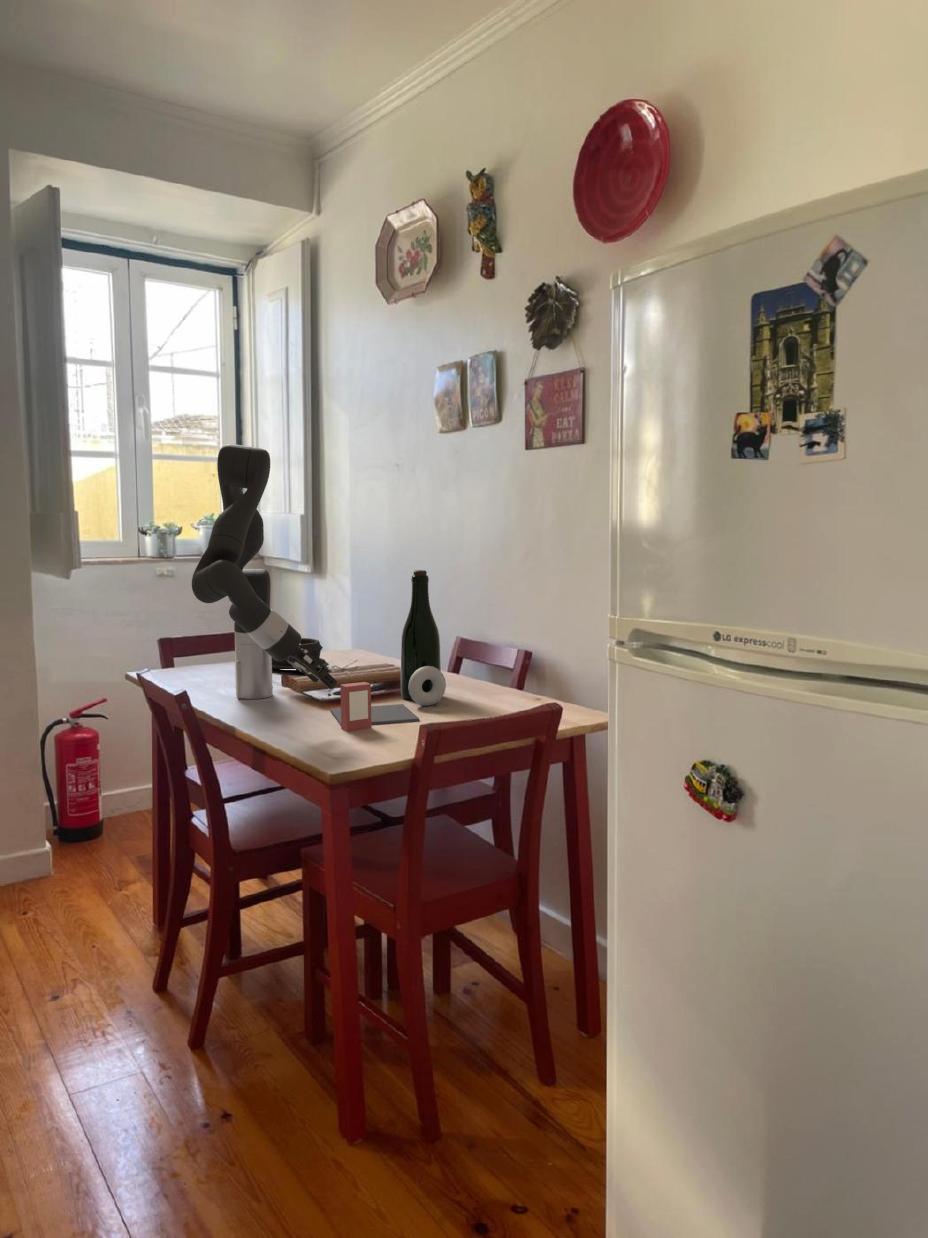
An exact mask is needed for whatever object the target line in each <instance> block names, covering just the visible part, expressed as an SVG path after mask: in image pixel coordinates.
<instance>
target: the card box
mask: <svg viewBox="0 0 928 1238" xmlns="http://www.w3.org/2000/svg"><path fill="white" fill-rule="evenodd" d="M339 686H340V708H341V725H340V728H341V730H343V731H345V732H351V731H359V730H366V729H368V730H369V729H372V725H371V706H372V689H371V688H372V683H369V682H366V681H361V682H352V683H351V682H350V683H342V684H340V685H339Z"/></svg>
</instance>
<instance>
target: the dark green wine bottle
mask: <svg viewBox="0 0 928 1238" xmlns="http://www.w3.org/2000/svg"><path fill="white" fill-rule="evenodd" d="M427 573H428V572H427V570H426V569H425V570H423V569H417V570H414V571H413V575H411V579H410V580H411V598H410V599H411V602H410V607H409V611H408V614H407V618H406V620H405V623H404V626H403V629H402V633H401V641H400V643H401V644H400V695H401V697H402V698H403V699H405V700H408V701H414V700H413V699H412V698H411V696H410V694H409V689H408V686H409V680H410V678H411V676H412V674H413V673H414V672H415V671H416V670H418V669H419V668H421V667H424V666H433V667H435V668H437V669H439V670H440V671H441V672H442V665H441V664H442V663H441V662H442V660H441V659H442V658H441V657H442V656H441V638H440V636H441V635H440V633H439V628H438V625H437V623H436V620H435V617H434V614H433V612H432V608H431V604H430V603H431V602H430V594H429V581H430V578H429V575H427ZM432 687H433V683H432V681H431V680H429V679H427V680H425V681H424V682H423V684H422V690H423V691H424V692H426V693H427V692H429V691H431V689H432Z"/></svg>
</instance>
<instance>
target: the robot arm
mask: <svg viewBox="0 0 928 1238" xmlns="http://www.w3.org/2000/svg"><path fill="white" fill-rule="evenodd" d="M216 467H217V468H216V469H217V479H218V485H219V488H220V489H219V490H220V495H221V496H220V497H221V500H222V501H221V502H222V509H223V510H222V512H221V513H220V514H219V515H218V516H217V518H216V520H215V521H214V524H213V526H212V528H211V533H210V536H209V540H208V544H207V547H206V549H205V551H204V552H203V554H202V556H201V557H200V559H199V561H198V564H197V566H196V568H195V569H194V571H193V574H192V579H191V588H192V589H191V590H192V593H193V595H194V596H195V598H196V599H197V600H198V601H200V602H201V603H204V604H214V603H216V602H219V601H221V600H222V599H224V598H226V597H228V600H229V601H230V603H231V605H230V607H229V610H228V614H229V616H230V619H231V620H232V621H233V622H234V623H233V627H234V631H233V632H234V654H235V655H234V656H235V658H234V670H235V671H234V673H235V675H234V676H235V696H236V699H237V698H245V699H244V700H257V699H265V698H269V697H272V696H273V694H274V692H273V691H274V690H273V685H274V684H273V667H272V658H273V659H275V660H276V661H283V660H285V659H286V660H287V661H288V662H289V663H290V664H291V665H292V666H293V667H294V668H295V669H297V670H299V671H298V672H300V673H303V674H304V675H305V676H306V677H307V678H308V679H309V680H311V681H312V682H313V683H316V684H317V683H318V682H319V681H320V682H321V683H322V684H323V685H324V686H326V687H327V688H328V689H329V690H332V689H333V688H334V687H336V685H337V683H338V682H337V680H336V678H335V677H333V676H332V675H331V674H330V673H329V672H328V671H329V669H328V666H326V667H325V666H324V665H323V664H322V663H320V662H319V661H318V660H317V659H316V658H315V657H314V656H313V655H312V654H311V653H310V652H308V651H307V650H306V649H304V648H303V649H302V648H301V647H299V644H300V642H301V638H302V634H300V632H299V631H297V630H296V628H294V627H293V626H292V625H291V624H290V623H289V622H288V621H286V619H285V618H283V616H281V615H280V614H279V613H278V612H277V611H276V610H273V608H271V591H272V590H271V585H272V584H271V576H270V572H269V571H268V570H267V569H265V568H244V567H246V565H247V564H249V562H251V560H252V559H253V558H254V557H255V556H257V554H258V553H259V551H260V550H261V549H262V546H263V545H264V540H265V537H264V536H265V535H264V534H265V533H264V529H265V528H264V520H263V517H262V515H261V513H260V512H259V510H258V507H259V504H260V502H261V500H262V497H263V495H264V492H265V491H266V488H267V485H268V482H269V479H270V472H271V456H270V453H269V452H268V450H266V449H263V448H259V447H254V446H253V447H252V446H250V445H249V446H248V445H242V444H236V443H235V444H234V443H233V444H231V443H230V444H229V443H227V444H224V445H222V446H221V448H220V449H219V451H218V455H217V462H216ZM241 489H245V492H244V493H243V491H242V490H241ZM316 667H319V668H318V669H319V670H317V668H316Z"/></svg>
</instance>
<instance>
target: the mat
mask: <svg viewBox="0 0 928 1238" xmlns="http://www.w3.org/2000/svg"><path fill="white" fill-rule="evenodd" d="M330 713H331V715H332V716H333V717H334V719H335V720H336V721H337V722H338V725H340V726H341V707H339V708H330ZM408 721H412V722H419V721H420V718H419V717H418V716H417V715H416V714H415V713H414V712H413V711H411V710H410V709H409V708H408V706H406V705H404V704H403V703H400V704H384V705H371V726H372V725H383V724H385V725H386V724H396V723H397V724H399V723H407V722H408ZM408 723H409V722H408Z"/></svg>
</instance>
